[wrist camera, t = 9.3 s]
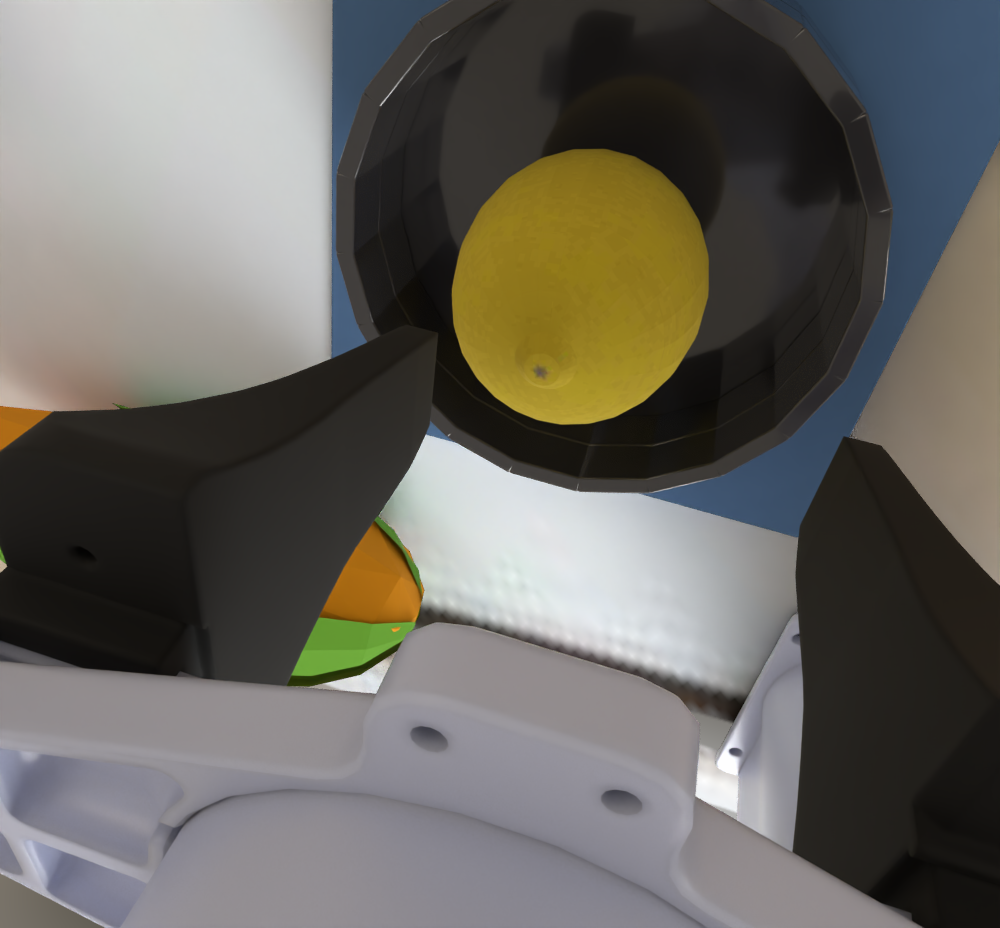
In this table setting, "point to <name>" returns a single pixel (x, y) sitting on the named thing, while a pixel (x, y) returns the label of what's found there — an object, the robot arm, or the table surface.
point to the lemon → (580, 286)
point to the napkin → (907, 167)
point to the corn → (351, 605)
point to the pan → (670, 149)
